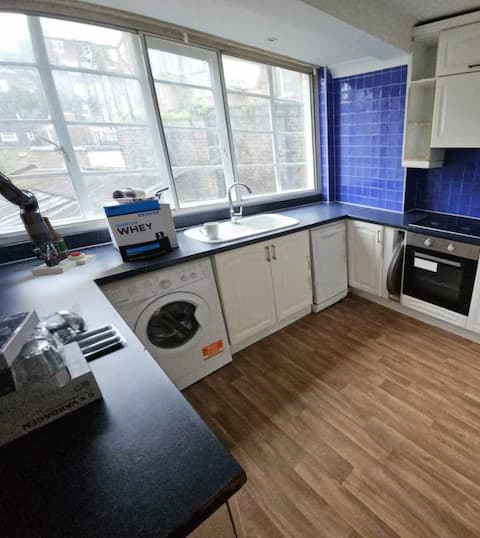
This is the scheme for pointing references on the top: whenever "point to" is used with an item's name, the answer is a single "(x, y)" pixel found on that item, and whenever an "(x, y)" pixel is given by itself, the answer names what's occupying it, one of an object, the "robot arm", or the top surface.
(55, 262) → the dial
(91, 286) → the top surface
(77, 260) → the switch block
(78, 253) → the power button
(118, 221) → the protein powder
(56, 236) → the beer bottle
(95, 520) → the top surface
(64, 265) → the control panel
